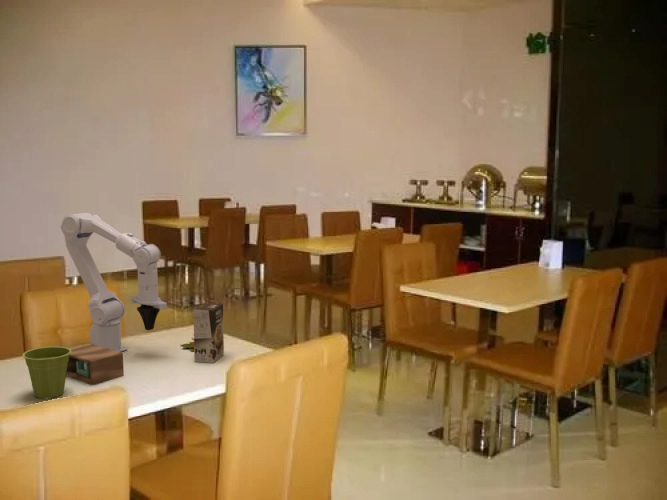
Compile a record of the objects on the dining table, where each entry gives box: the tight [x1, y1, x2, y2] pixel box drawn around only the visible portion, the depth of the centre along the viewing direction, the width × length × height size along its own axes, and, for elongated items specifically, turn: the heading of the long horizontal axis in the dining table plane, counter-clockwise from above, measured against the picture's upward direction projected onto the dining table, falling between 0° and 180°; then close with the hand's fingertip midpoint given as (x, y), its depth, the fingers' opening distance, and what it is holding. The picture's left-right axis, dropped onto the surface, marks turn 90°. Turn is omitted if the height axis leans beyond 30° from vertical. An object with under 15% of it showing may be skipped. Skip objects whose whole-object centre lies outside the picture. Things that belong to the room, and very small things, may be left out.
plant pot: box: [22, 346, 72, 399], centre depth 191 cm, size 12×12×11 cm
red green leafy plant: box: [181, 337, 194, 352], centre depth 235 cm, size 12×12×5 cm
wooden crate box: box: [66, 343, 125, 386], centre depth 207 cm, size 14×10×7 cm
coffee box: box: [193, 302, 225, 364], centre depth 222 cm, size 9×6×16 cm
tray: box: [76, 360, 90, 378], centre depth 208 cm, size 5×10×4 cm, turn 143°
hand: (149, 329), depth 224 cm, fingers closed
